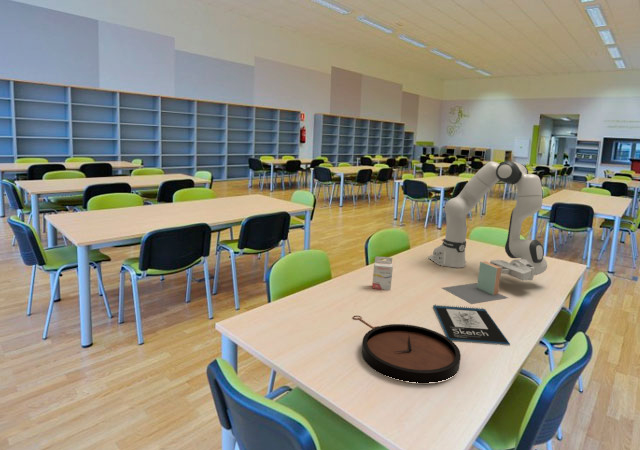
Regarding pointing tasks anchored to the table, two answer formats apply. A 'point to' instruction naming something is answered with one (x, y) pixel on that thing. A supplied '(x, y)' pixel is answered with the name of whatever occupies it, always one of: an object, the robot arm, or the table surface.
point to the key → (363, 321)
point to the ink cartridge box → (382, 273)
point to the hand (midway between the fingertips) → (497, 271)
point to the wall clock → (410, 353)
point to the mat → (472, 293)
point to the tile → (489, 278)
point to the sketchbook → (469, 325)
